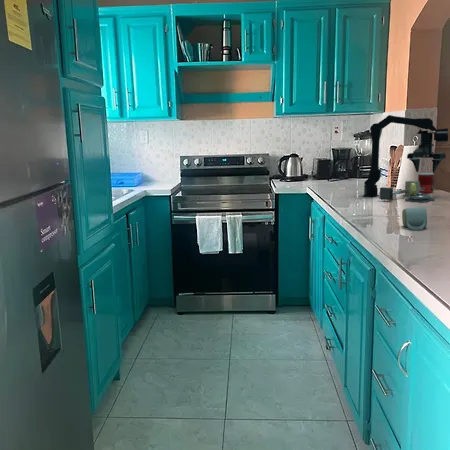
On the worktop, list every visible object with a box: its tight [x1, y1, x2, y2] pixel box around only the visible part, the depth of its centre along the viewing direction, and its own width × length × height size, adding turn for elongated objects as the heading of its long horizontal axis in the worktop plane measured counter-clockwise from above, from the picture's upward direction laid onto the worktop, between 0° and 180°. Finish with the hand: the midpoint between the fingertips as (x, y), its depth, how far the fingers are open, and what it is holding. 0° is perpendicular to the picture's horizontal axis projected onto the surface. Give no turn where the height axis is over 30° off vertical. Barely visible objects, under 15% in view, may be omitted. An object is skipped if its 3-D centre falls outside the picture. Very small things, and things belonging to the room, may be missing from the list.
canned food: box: [417, 172, 435, 195], centre depth 260 cm, size 8×8×11 cm
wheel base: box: [404, 197, 435, 204], centre depth 234 cm, size 10×10×1 cm
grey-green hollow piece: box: [402, 180, 420, 198], centre depth 249 cm, size 7×6×8 cm
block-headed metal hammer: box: [379, 186, 407, 201], centre depth 241 cm, size 6×18×6 cm, turn 125°
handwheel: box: [408, 183, 432, 200], centre depth 233 cm, size 10×10×8 cm
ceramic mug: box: [401, 206, 428, 231], centre depth 172 cm, size 11×8×8 cm
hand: (425, 172), depth 244 cm, fingers open, 9 cm apart
